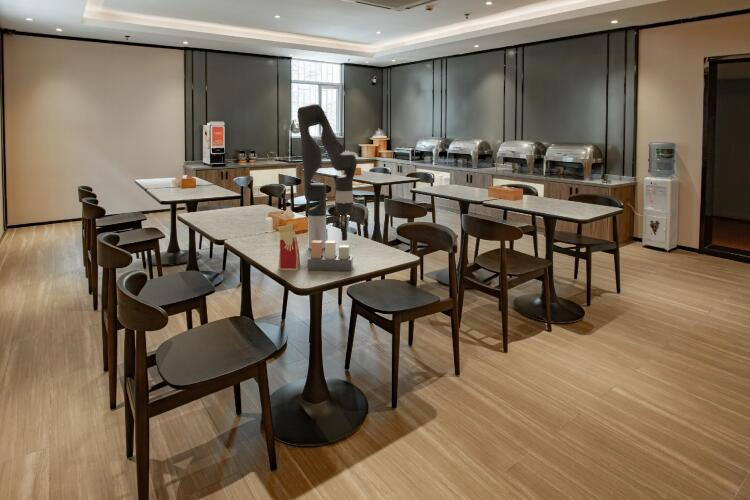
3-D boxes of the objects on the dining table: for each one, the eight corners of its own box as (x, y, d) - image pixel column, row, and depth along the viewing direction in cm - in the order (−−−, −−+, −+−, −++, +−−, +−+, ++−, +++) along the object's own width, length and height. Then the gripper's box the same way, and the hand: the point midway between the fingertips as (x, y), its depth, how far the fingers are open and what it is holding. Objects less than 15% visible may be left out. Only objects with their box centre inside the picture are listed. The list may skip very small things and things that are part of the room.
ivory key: (325, 259, 223) (325, 242, 221) (326, 256, 227) (326, 240, 225) (334, 259, 223) (334, 242, 221) (335, 256, 227) (335, 240, 225)
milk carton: (300, 264, 230) (299, 221, 226) (297, 270, 221) (296, 225, 217) (279, 264, 230) (278, 221, 225) (276, 270, 221) (275, 225, 216)
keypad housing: (307, 270, 222) (307, 259, 220) (310, 265, 230) (310, 254, 229) (351, 271, 221) (351, 260, 220) (352, 265, 230) (352, 255, 229)
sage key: (338, 263, 223) (338, 247, 221) (339, 261, 227) (339, 245, 225) (348, 263, 223) (348, 247, 221) (349, 261, 227) (349, 245, 225)
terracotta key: (311, 258, 223) (311, 242, 221) (312, 256, 227) (312, 240, 225) (321, 259, 223) (320, 242, 221) (322, 256, 227) (322, 240, 225)
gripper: (337, 198, 225) (337, 236, 229) (334, 203, 212) (334, 243, 216) (354, 198, 225) (353, 237, 229) (352, 203, 212) (352, 243, 216)
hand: (344, 240), depth 223 cm, fingers closed
